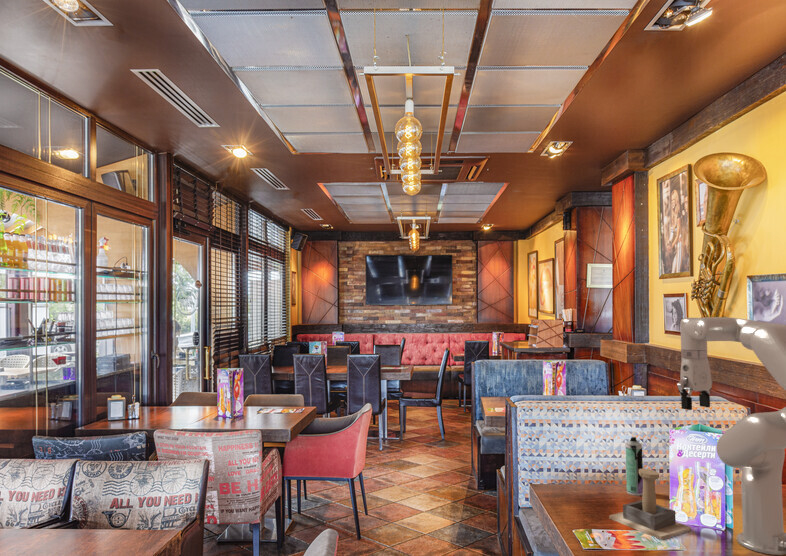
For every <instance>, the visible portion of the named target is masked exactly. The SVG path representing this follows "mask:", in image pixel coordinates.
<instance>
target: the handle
mask: <svg viewBox="0 0 786 556" xmlns="http://www.w3.org/2000/svg"><path fill="white" fill-rule="evenodd" d="M639 475H640V476H641V477H642V478H643V495H641V497H642V499H641V500H642V506H643V511H645V512H647V513H650V514H653V515H654V514H656V504H657V496H656V494H657V493H656V483H655V482H656V480H658V479H659V478H660V474H659V472H658V471H656V470H653V469H649V468H643V469H639Z"/></svg>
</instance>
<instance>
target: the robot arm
mask: <svg viewBox="0 0 786 556" xmlns="http://www.w3.org/2000/svg"><path fill="white" fill-rule="evenodd" d="M679 323H680V326H679V327H680V353H681V354H680V355H681V357H680V358H681V363H680V364H681V365H680V380H679V381H678V382H677V384H676V385H677V389H678V393H679V396H680V397H681V398H680V403H681V409H683V410H688V411H692V409H693V400H692V399H693V398H692V397H691V396H692V393H693V392H699V395H698V396H699V398H698V399H699V406H700V407H704V408H710V407H711V390H712V386H713V380H712V373H711V366H710V363H709V362H710V361H709V359H708V342H734V343H736V342H737V343H741V345H742V346H743V347H744V348H745V349H747V350H749V351H753V353H754V354H755V356H756V357H757V358H758V360H759V361H760V362H761V364H763V366H764V368H765V369H766V370H767V372H768V373H769V374H770V375H771V376H772V378H773V379H774V380H775V382H776V383H777V384H778V385H779V386H780V387H781V388H782V389H784V390H785V391H786V324H783V323H782V324H781V323H774V322H767V321H758V320H752V319H745V318H738V317H728V316H727V317H726V316H724V317H723V316H721V317H719V316H718V317H717V316H716V317H715V316H713V317H710V316H709V317H684V318H682V319H681V320H680V322H679ZM716 442H717V443H716V453H717V455H718V458H719V459H720V460H721V462H722V463H723V464H725V465H727V466H729V467H731V468H735V469H742V472H741V478H740V483H741V485H740V487H741V488H740V489H741V491H740V493H741V515H742V518H741V519H742V532H740V533H739V534H737V535H736V541H737V543H739V544H740V545H741V546H742V547H744V548H746V549H748V550H751V551H754V552H757V553H762V554H766V555H773V556H785V555H786V532H784V531H785V530H784V513H783V512H784V511H783V482H782V480H783V479H782V478H783V467H784V462H785V456H786V455H785V454H786V451H785V450H786V406H785V407H783V408H782V409H778V410H777V411H769V412H768V411H767V412H766V411H764V412H756V413H755V412H754V413H751V414H750V413H749V414H748V415H746V416H744V417H743V418H741V419H739V421H737V422H735V424H734V425H732V426H731V427H730V428H728V429H727V430H726V431H725V432H723V433H722V434H721V436H720V437H719V438H718V441H716Z"/></svg>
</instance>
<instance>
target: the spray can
mask: <svg viewBox="0 0 786 556" xmlns="http://www.w3.org/2000/svg"><path fill="white" fill-rule="evenodd" d="M643 460H644V459H643V445H642V443H640V442H639V440H637V437H636V436H631V437H630V440H629V441H628V442H626V443H625V467H626V468H625V469H626V470H625V471H626V494H628V495H631V496H636V497H637V496H638V497H640V496H641V497H642V496H643V478H642V477H641V476H640V475H639V469H644V467H643V465H644V464H643V462H644V461H643Z"/></svg>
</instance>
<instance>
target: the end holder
mask: <svg viewBox="0 0 786 556" xmlns="http://www.w3.org/2000/svg"><path fill="white" fill-rule="evenodd" d="M608 517H609V518H608V519H609V520H612V521H614V522H617V523H619V524H621V525H624V526H627V527H628V528H631V529H634V530H637V531H638V532H640V533H643V534H646V535H647V536H650V535H651V537H653V536H654V537H653V538H655V537H656V538H655V539H658V540H660V541H663V540H666V539H668V538H672V537H676V536H679V535H681V534H684V533H688V532H691V531H692V527H691V526H689V525H687V524H683V523H680V522H679V521H676V510H674V509H671V508H668V507H666V506H662V505H660V504H657V503H656V514H654V515H653V514H650V513H647V512H645V511H643V506H642V499H641V500H636V501H633V502H630V503H626V504H625V503H624V504H623V505H622V512H617V513H613V514H609V516H608ZM665 538H666V539H665ZM662 539H663V540H662Z"/></svg>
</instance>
